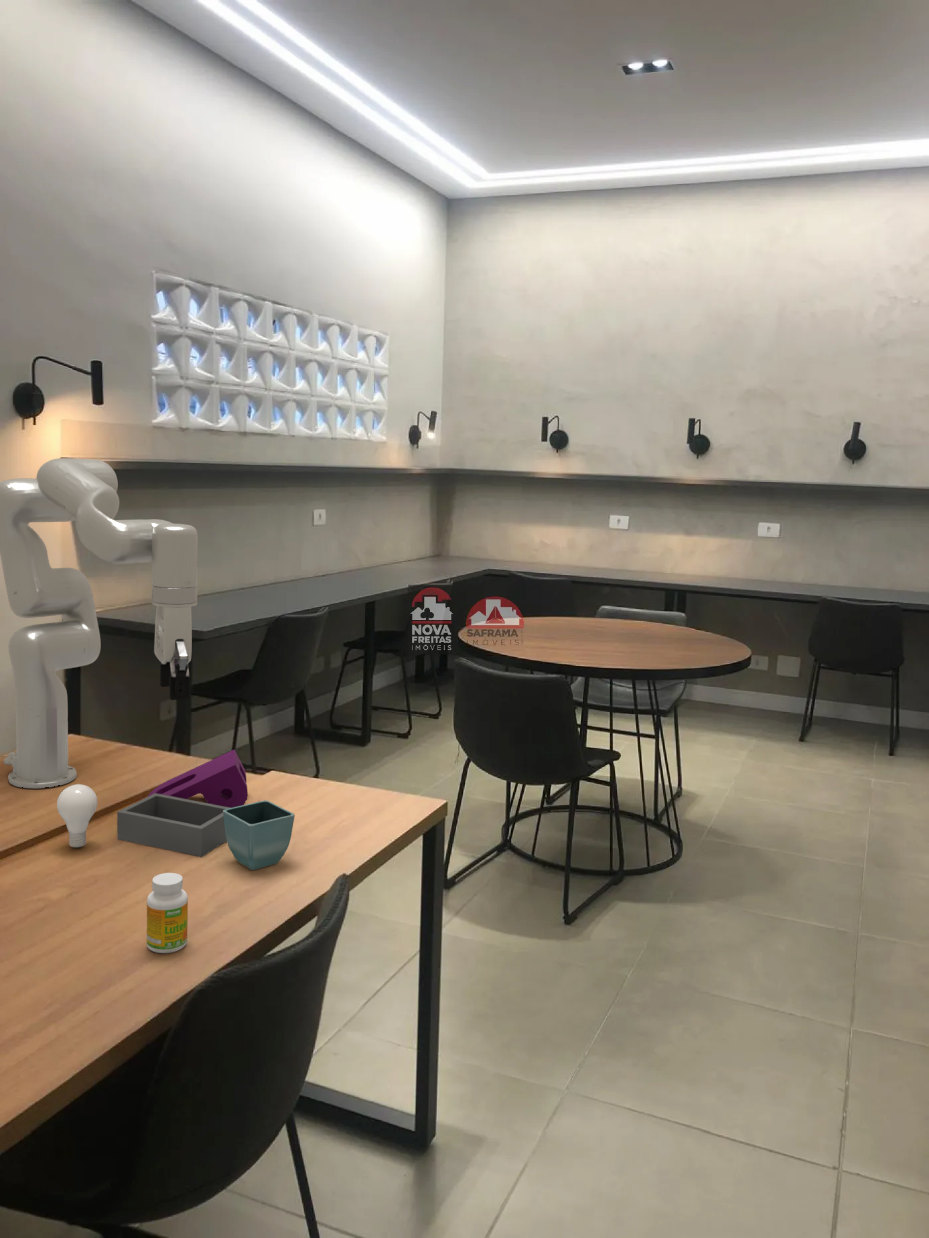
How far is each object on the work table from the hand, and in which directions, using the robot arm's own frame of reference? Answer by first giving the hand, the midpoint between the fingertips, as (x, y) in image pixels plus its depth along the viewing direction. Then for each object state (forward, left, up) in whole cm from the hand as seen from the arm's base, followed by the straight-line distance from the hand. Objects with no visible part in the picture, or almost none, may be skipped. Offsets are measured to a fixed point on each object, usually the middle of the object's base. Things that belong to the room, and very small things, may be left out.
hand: (174, 692), depth 170 cm
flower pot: (+21, -6, -26) cm, 33 cm away
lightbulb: (-9, -14, -26) cm, 30 cm away
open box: (+3, -3, -25) cm, 26 cm away
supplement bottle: (+24, -35, -26) cm, 49 cm away
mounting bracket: (-3, +13, -26) cm, 29 cm away
